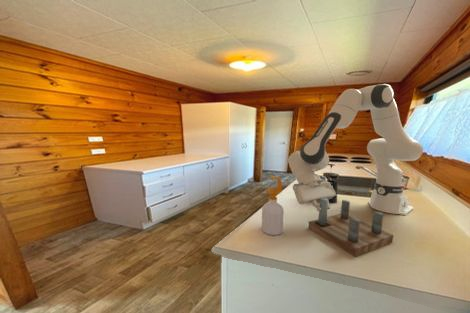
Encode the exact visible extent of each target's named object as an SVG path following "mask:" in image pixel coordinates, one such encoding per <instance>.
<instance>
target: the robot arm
mask: <svg viewBox="0 0 470 313" xmlns="http://www.w3.org/2000/svg"><path fill="white" fill-rule="evenodd" d="M394 98H395V91H394V89H393V87H392V86H391V85H390V84H387V83H379V84H375V85H369V86H365V87H362V88H359V89H355V88H347V89H345V90H344V91H343V92H342V93H341V94H340V95H339V97H338V98H337V99H336V100H335V102H334V103H333V105H332V107H331V109H330V111H329V112H328V114H327V115H326V116H325V118H323V120H322V121H321V123H320V124H319V125H318V127H317V129H316V130H315V131H314V133H313V135H311V137H310V138H309V139H308V140H307V141H305V143H303V144H302V146H301V148H300V149H299V150H296V151H293V152H292V153H291V154H290V155H289V156H288V159H287V162H288V166H289V168H290V170H291V173H292V174H293V175H294V176H295V177H296V178H295V179H296V181H297V183H293V185H292V190H293V193H294V195H295V199H296V201H297V203H298V204H299V205H305V204H311V205H312V207H314V208H315V209H316V210H317V212H319V211H322V210H323V208H322V207H321V206H320V204H318V202H320V198H325V199H331V198H333V197H335V196H336V192H335V190H334V189H333V186H331V184H332V183H331V182H327V180H328V178H327V176H323V175H320V174H318V173H316V172H318V171H320V170H324V169H325V168H327V167H328V166H329V165H328V164H330V157H329V155H328V153H327V151H326V145H327V142H328V141H329V139H330V137H331V136H332V135H333V133H334V131H336V130H337V129H338V130H342V129H343V130H344V129H346V128H348V127H349V126H350V125H351V124H352V123H353V121H354V119H355V118H356V116H357V114H358V112H359V111H369V110H370V116H371V121H372V125H373V128H374V132H375V133H376V134H377V135H378V136H380V137H382V138H374V139H371V140H370V141H369V142H368V143H367V146H366V151H367V153H368V154H369V156H370V157H372V160H373V161H374V163H375V166H376V180H375V182H374V185H373V186H374V189H373V190H372V191H371V196H370V200H368V202H367V204H368V205H369V206H370V208H372V209H374V210H376V211H378V212H381V213H388V214H396V215H397V214H398V215H402V216H407V214H409V213H410V212H411V211H413V210H414V206H412V205H409V197H408V196H407V195H405V193H404V191H403V190H406V185H404V184H402V183H403V174H404V173H403V170H402V168H400V167H398V165H397V164H396V163H395V161H400V162H401V161H402V162H413V161H417V160H418V159H420V158H421V157H422V155H423V152H424V147H423V144H422V143H420V142H419V141H418V140H415V139H414V138H412V137H411V136H410V135H409V134H408V133H407V131H405V129H404V127H403V125H402V122H401V118H400V112H399V110H398V106H397V102H396V101H395V99H394ZM330 209H331V206H330V203H329V200H328V208H327V210H330Z"/></svg>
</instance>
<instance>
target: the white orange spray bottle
mask: <svg viewBox="0 0 470 313" xmlns="http://www.w3.org/2000/svg"><path fill="white" fill-rule="evenodd" d="M269 177H270V178H271V179H275V180H277V188H276V189H267V190H266V192H267V193H268V194H269V195H270V196H269V197H268V202H266V203H264V204H263V206H262V208H261V231H262V232H263V233H264V234H267V235H270V236H277V235H280V234H283V231H284V212H285V211H284V207H283V206H282V205H281V204H280V203H278V198H277V196H276V195H277V194H280V193H281V192H282V186H283V185H282V184H283V183H282V180H281V178H279V177H278V176H275V175H272V174H269Z"/></svg>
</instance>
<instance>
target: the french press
mask: <svg viewBox="0 0 470 313" xmlns="http://www.w3.org/2000/svg"><path fill="white" fill-rule="evenodd" d="M327 166H329V167H330V169H332V168H333V166H336V164H333V163H329V164H328V165H327ZM322 176H325V177H329V179H327V182H329V183H330V184H331V186H332V187H333V189H334V190H335V192H336V196H335V197H333V198H331V199H328V200H329V204H337V203H338V186H339V181H337V180H338V179H339V176H340V174H338V173H334V172H323V173H322ZM331 179H332V180H331Z"/></svg>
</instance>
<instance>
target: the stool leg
mask: <svg viewBox="0 0 470 313" xmlns="http://www.w3.org/2000/svg"><path fill="white" fill-rule="evenodd" d="M319 206H321V207H322V208H323V210H322V211H318V219H319V220H318V223H319V224H320V225H326V222H327V217H328V209H327V208H328V199H325V198H320V201H319Z"/></svg>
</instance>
